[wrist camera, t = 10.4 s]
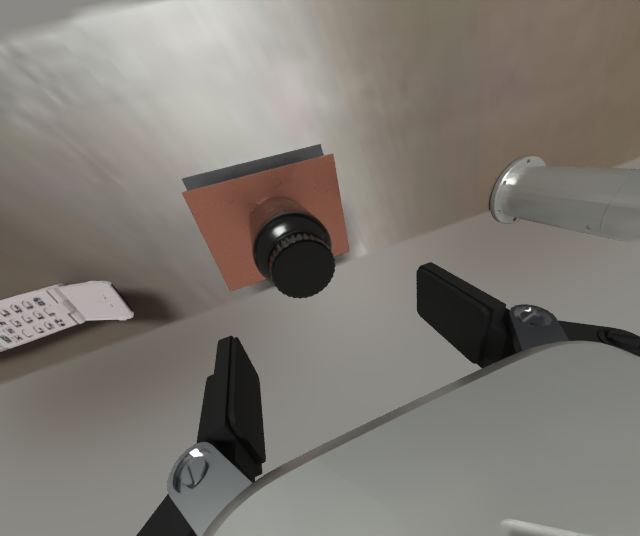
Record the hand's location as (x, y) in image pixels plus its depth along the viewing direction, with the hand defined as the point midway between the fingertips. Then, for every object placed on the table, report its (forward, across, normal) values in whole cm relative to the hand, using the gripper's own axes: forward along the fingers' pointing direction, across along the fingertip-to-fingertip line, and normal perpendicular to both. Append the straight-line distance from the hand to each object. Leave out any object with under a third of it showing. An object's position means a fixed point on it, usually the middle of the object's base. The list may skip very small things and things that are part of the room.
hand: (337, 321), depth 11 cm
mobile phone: (+27, +33, +4) cm, 43 cm away
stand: (+26, 0, 0) cm, 26 cm away
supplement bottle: (+18, 0, 0) cm, 18 cm away
